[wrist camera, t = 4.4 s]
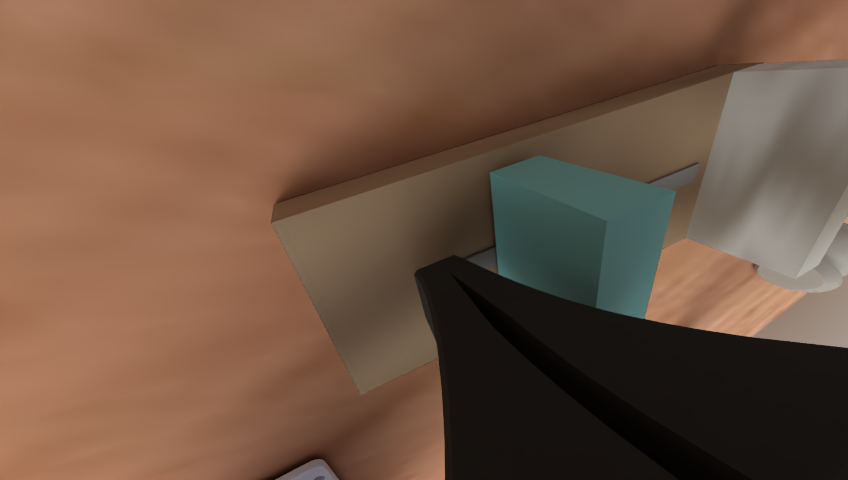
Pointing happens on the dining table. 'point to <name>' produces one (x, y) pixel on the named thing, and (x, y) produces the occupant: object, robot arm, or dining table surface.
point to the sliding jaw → (579, 232)
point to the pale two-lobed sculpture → (816, 269)
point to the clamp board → (596, 149)
